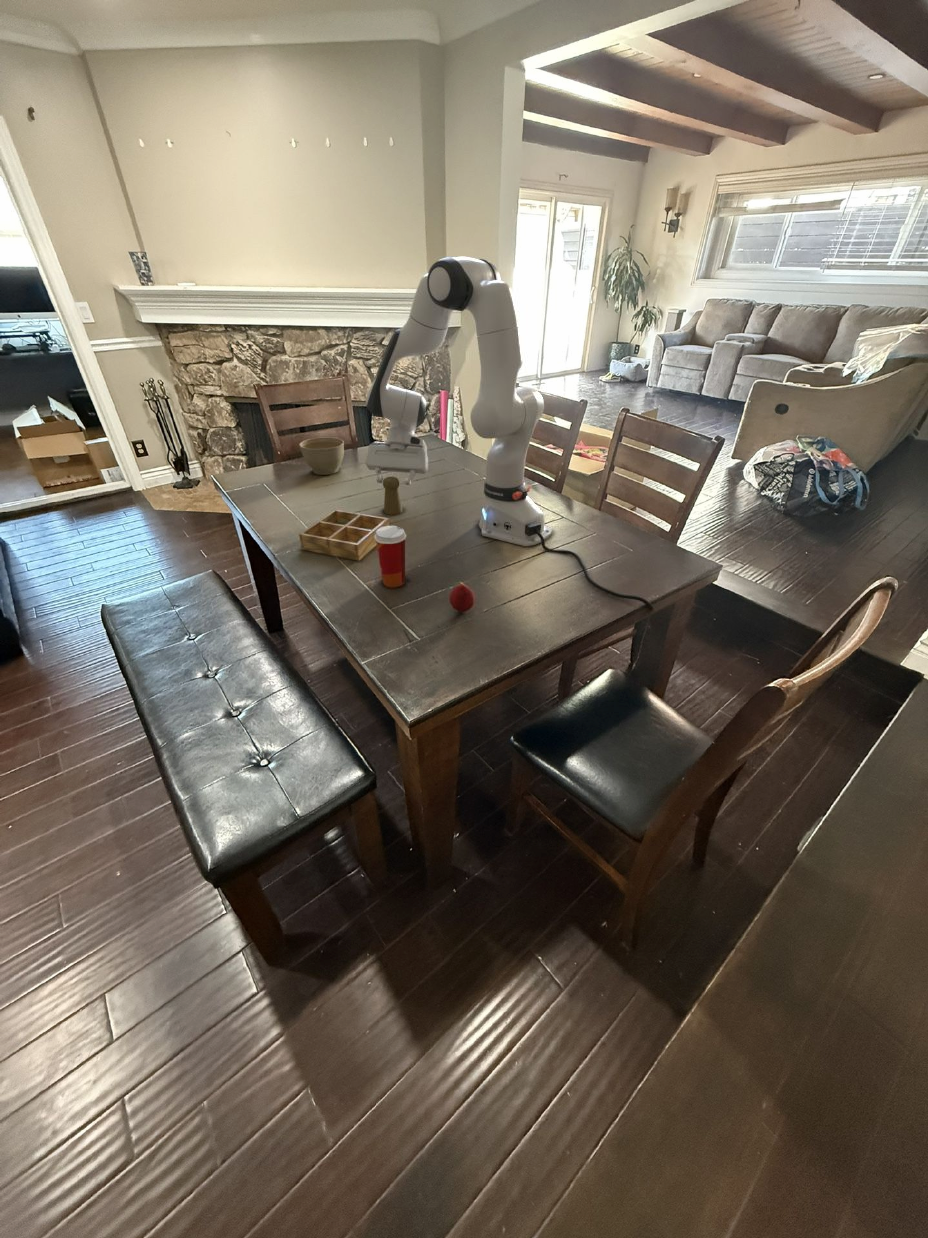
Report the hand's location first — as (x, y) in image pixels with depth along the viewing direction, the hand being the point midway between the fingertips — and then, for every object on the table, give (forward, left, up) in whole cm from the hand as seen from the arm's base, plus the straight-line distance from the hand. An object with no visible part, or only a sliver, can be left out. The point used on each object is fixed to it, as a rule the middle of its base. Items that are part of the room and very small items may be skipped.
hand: (393, 483), depth 164 cm
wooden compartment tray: (-7, +26, -8) cm, 28 cm away
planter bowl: (+46, -7, -9) cm, 47 cm away
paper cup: (-34, +33, -9) cm, 48 cm away
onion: (-56, +32, -9) cm, 65 cm away
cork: (-1, +2, -9) cm, 9 cm away
